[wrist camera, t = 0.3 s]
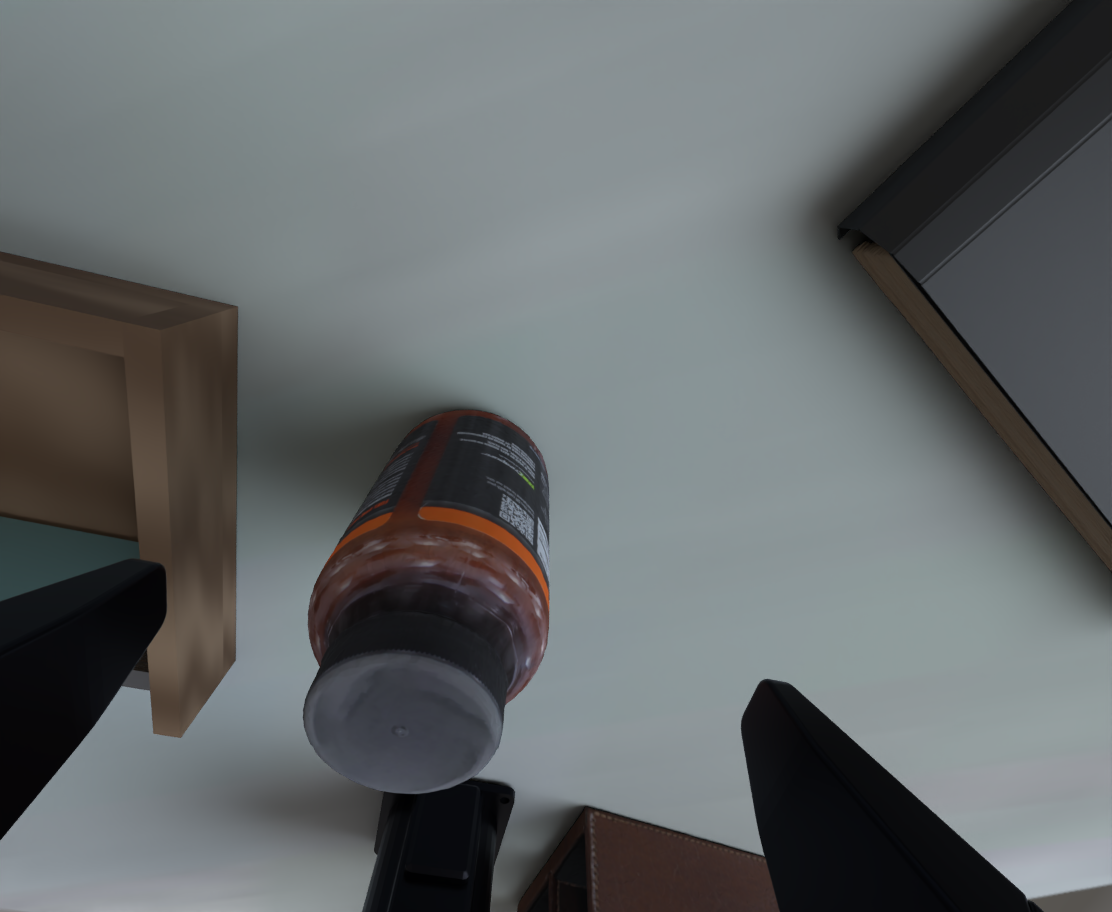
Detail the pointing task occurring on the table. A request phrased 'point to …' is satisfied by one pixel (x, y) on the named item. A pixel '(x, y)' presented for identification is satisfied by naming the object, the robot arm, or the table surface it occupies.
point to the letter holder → (646, 872)
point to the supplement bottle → (432, 607)
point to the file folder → (1019, 257)
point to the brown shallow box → (130, 449)
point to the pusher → (52, 554)
